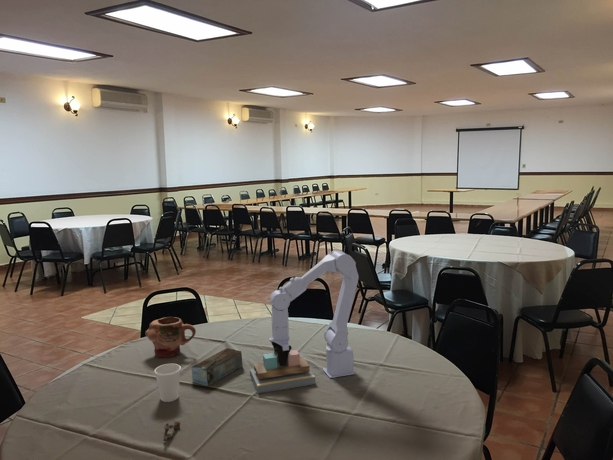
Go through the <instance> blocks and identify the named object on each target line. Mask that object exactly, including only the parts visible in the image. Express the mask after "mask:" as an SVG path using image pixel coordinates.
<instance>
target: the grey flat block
mask: <svg viewBox="0 0 613 460" xmlns="http://www.w3.org/2000/svg"><path fill="white" fill-rule="evenodd" d="M249 376H250V379H251V381H252V383H253V385H254V388H255V390H256V392H257V394H262V393H263V394H264V393H269V392H275V391H282V390H287V389H291V388H298V387H299V388H300V387H305V386H310V385H316V376H315V375H314V374H313V371H311V370H310V371H308V372H302V373H296V374H289V375H283V376H276V377H270V378H264V379H258V375H256V371H254V368H250V369H249Z"/></svg>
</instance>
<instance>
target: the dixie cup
mask: <svg viewBox="0 0 613 460" xmlns="http://www.w3.org/2000/svg"><path fill="white" fill-rule="evenodd" d="M181 369H182V366H181V365H179V364H177V363H165V364H161V365H159V366H157V367H156V368H154V370H153V372H154V374H155V378H156V382H157V387H158V392H159V397H160V400H161V401H162V402H165V403H170V402H174V401H176V400H177V399H179V394H180V378H181Z"/></svg>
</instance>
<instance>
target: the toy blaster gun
mask: <svg viewBox="0 0 613 460" xmlns="http://www.w3.org/2000/svg"><path fill="white" fill-rule="evenodd" d="M163 429H164V435H163V442H167V439H170V438H172V433H168V432H169V430H170V429H181V421H173V424H169V423H166V424H164V426H163Z"/></svg>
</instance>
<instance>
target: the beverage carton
mask: <svg viewBox="0 0 613 460" xmlns="http://www.w3.org/2000/svg"><path fill="white" fill-rule="evenodd" d="M242 367H243V355H242V351H241V350H236V349H232V348H228V347H226V348H224V349H222V350H220V351H219V352H217V353H215V354H213V355H212V356H210V357H208V358H206V359H204V360H202V361H200V362H199V363H198V362H197V363H196V364H194V365H192V366H191V378H192V382H193V383H196V384H199V385H203V386H206V387H209V386H211V385H212V384H214V383H216V382H217V381H219V380H222V379H223V378H225V377H226V376H229V374H231V373H233V372H235V371H237V370H238V369H240V368H242Z"/></svg>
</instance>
